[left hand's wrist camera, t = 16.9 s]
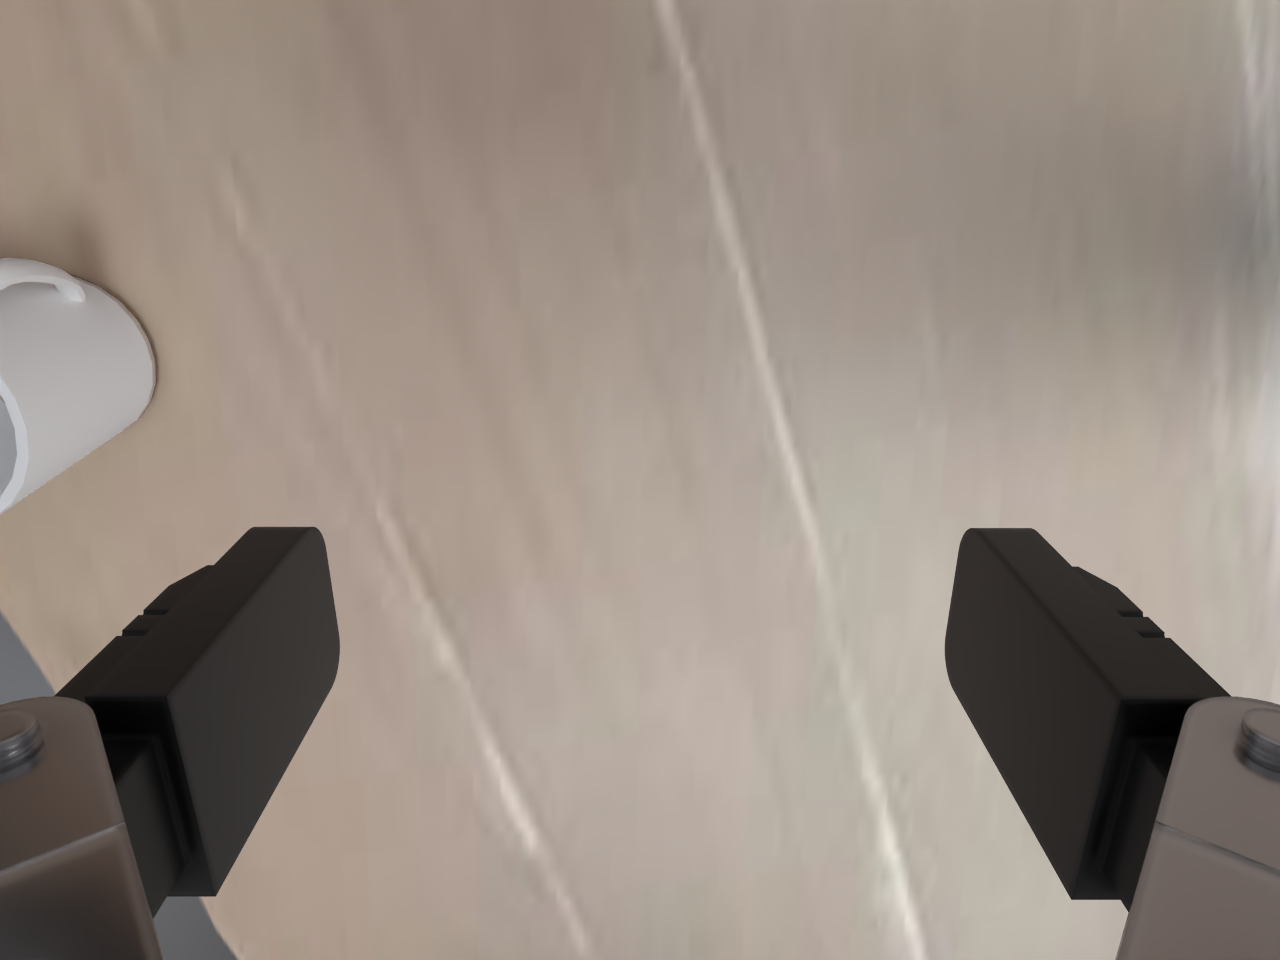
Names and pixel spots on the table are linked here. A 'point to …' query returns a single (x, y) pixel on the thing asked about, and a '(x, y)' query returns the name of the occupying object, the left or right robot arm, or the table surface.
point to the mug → (63, 373)
